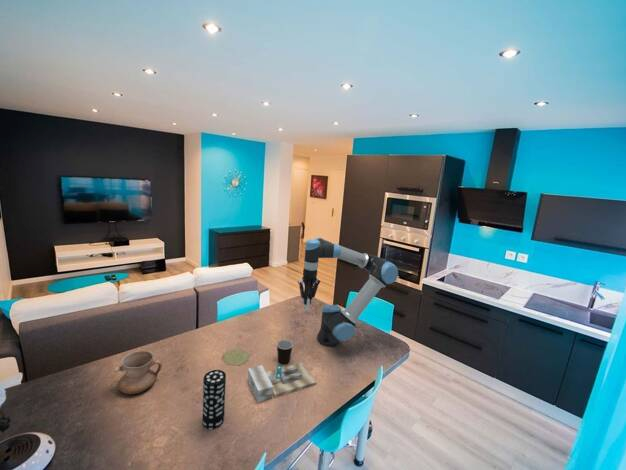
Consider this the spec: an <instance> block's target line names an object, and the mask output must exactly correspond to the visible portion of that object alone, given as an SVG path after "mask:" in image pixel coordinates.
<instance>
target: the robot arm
mask: <svg viewBox="0 0 626 470" xmlns="http://www.w3.org/2000/svg"><path fill="white" fill-rule="evenodd" d="M319 259H340V260H342V261H346V262H348V263H350V264H353V265H357V266H358V267H359V268H361V269H364V270H365V271H367V272H369V274H368V276H369V278H368V280H367V281H366V282H365V283H364V284H363V286H362V288H361V289H360V290H359V291H358V293H357V294H356V295H355V297H354V298H353V299H352V300H351V302H350V303H349V304H348V305H347V307H346V308H345V309H344V310H342V307H341V306H339V305H335V304H326V305H324V306H323V307H322V313H321V324H320V329H319V331H318V333H317V335H316V340H317V341H316V342H318V343H319V344H320V345H322V346H325V347H330V348H332V347H337V346H339V345H340V344H341V342H344V341H349V340H350V339H352V338H353V336H354V335H355V333H356V332H355V331H356V329H355V327H356V325H357V324H358V323H357V322H358V321H357V320H358V318H359V317H360V316H361V315H362V313H363V312H364V311H365V310H366V309H367V307H368V305H369V304H370V303H371V302H372V300H373V299H374V298H375V296H376V295H377V294H378V293H379V292H380V291H381V288H386V286H387V285H390V284H393V283H395V282H396V281H397V280H398V279H397V278H398V277H399V271H398V267H397V265H395V264H394V263H393V262H392V261H389V260H386V259H385V258H382V257H379V256H377V255H372V254H370V253H365V252H364V253H361V252H358V251H356V250H353V249H350V248H348V247H345V246H342V245H340V244H337V243H335V242H331V241H328V240H326V239H323V238H322V237H316V238H314V239H313V238H312V239H307V240H306V242H305V247H304V260H303V261H304V262H303V271H302V279H301V280H298V281H297V283H298V285H299V293H300V298H301V299H303V304H304V307H303V309H304V310H305V311H310V305H311V303H312V300H313V298H315V297H316V294H317V291H318V287H319V284H320V283H321V280H319V279H318V277H317V276H318V269H319Z"/></svg>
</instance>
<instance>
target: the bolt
mask: <svg viewBox="0 0 626 470" xmlns="http://www.w3.org/2000/svg"><path fill="white" fill-rule="evenodd" d="M282 368H283V366H282V364H279V365H278V364H277V365H276V369H277V373H276V375H273V376H269V377H268V378H269V379H270V381H271V383H272V384H274V383H277V382H281V381H282V378H284V377H285V375H284V373H281V372H282Z"/></svg>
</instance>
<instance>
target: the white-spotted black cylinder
mask: <svg viewBox="0 0 626 470" xmlns="http://www.w3.org/2000/svg"><path fill="white" fill-rule="evenodd" d="M202 380H203V385H202V420H201V421H202V426H203V427H204V429H207V430H214V429H218V428H219V427H221V426H222V425H223V423H224V422H225V411H226V410H225V408H226V407H225V406H226V405H225V404H226V385H227V384H226V383H227V382H226V381H227V375H226V372H225V371H223V370H221V369H213V370H210V371H208V372H206V373H205V374H204V376H203V379H202Z"/></svg>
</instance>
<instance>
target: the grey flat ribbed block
mask: <svg viewBox="0 0 626 470" xmlns="http://www.w3.org/2000/svg"><path fill="white" fill-rule="evenodd" d="M276 373H277V368H275V369H273V370H269V371H266V370H265V368H264V366H263V365H257V366H254V367H248V369H247V382H248V383H249V386H250V388H251V391H252V393H253V395H254V398H255V400H256V402H257V403H261V402H264V401H268V400H271V399H273V397H274V398H278V397H281V396H283V395H287V394H291V393H294V392H297V391H300V390H303V389H307V388H309V387H313V386H316V385H317V381H316V379H315V378H314V376H313V375H312V374H311V372H310V371H309V370H308V368H307V367H306V366H305V364H304V363H303V362H299V363H295V364H292V365H287V366H284V367H283V366H282V372H281V373H284V375H285V377H284V378H282V381H281V382H277V383H274V384H272V383H271V381H270V379H269V378H268V377H269V376H273V375H276Z"/></svg>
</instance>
